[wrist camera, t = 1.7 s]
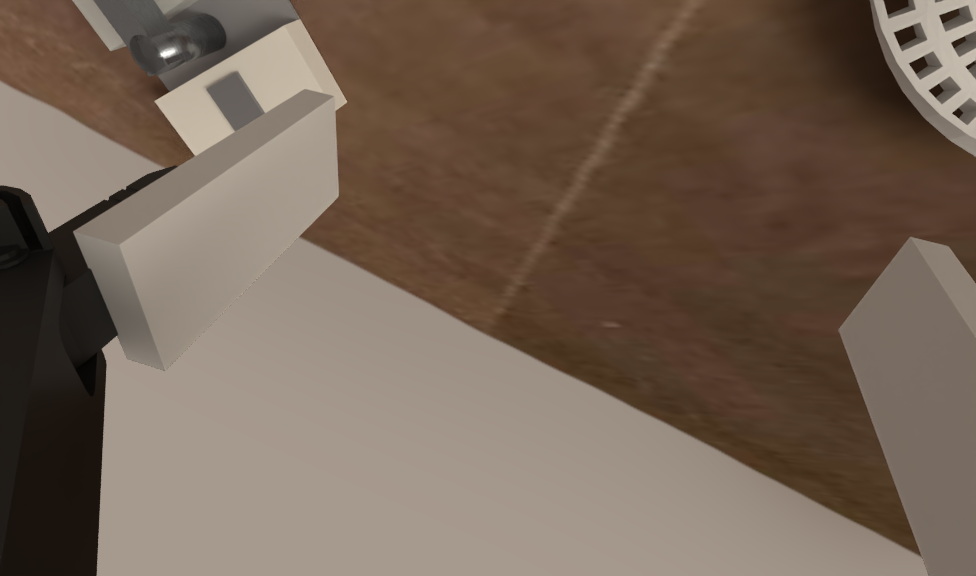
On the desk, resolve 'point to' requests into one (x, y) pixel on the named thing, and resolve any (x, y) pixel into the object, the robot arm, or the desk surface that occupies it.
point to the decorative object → (935, 62)
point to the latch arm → (162, 34)
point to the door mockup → (233, 66)
